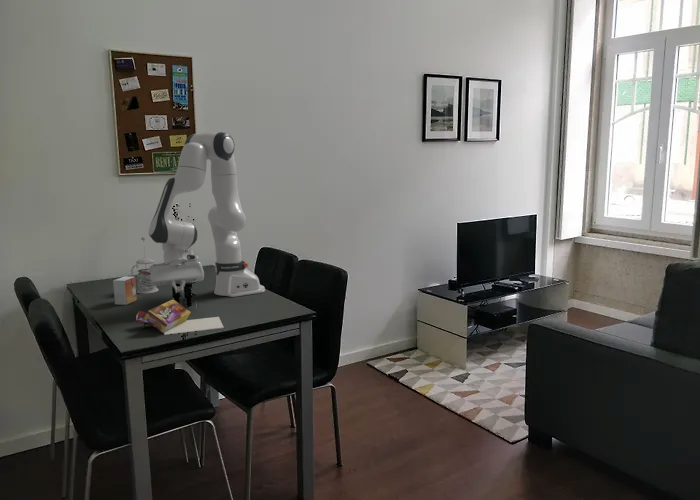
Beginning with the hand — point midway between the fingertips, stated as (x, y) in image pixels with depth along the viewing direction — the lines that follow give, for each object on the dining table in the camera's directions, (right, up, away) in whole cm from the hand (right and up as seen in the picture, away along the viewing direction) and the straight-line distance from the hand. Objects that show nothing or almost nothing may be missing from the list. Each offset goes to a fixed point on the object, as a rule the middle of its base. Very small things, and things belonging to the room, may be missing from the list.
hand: (179, 291), depth 222 cm
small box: (-29, -6, +21) cm, 37 cm away
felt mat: (+9, -12, -12) cm, 19 cm away
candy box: (+2, -6, -6) cm, 9 cm away
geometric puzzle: (-8, -12, -13) cm, 19 cm away
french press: (-28, -3, +41) cm, 49 cm away
